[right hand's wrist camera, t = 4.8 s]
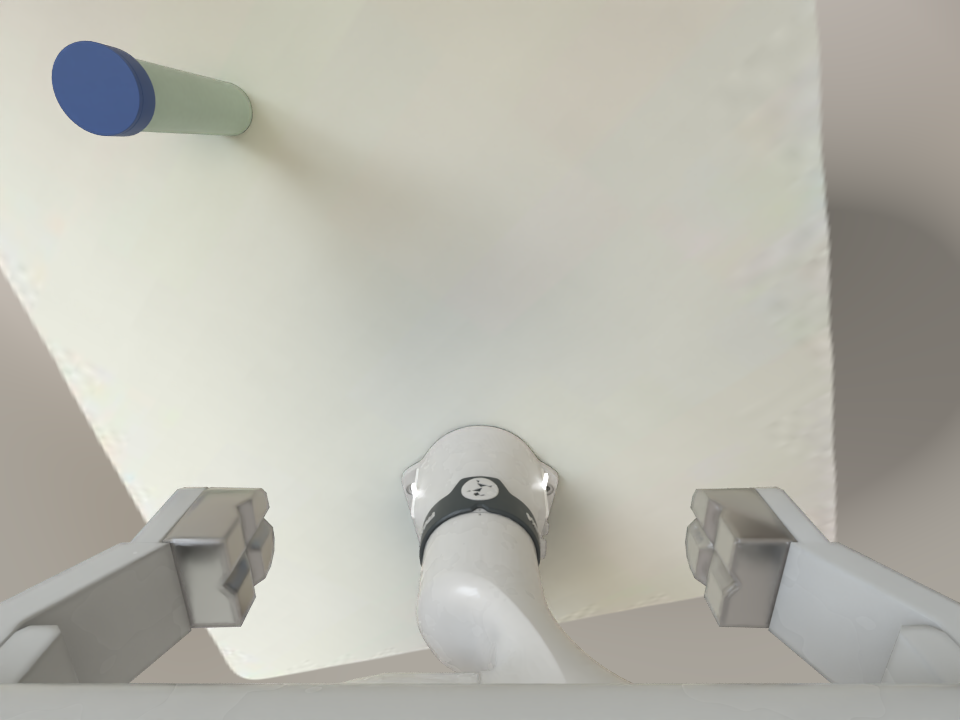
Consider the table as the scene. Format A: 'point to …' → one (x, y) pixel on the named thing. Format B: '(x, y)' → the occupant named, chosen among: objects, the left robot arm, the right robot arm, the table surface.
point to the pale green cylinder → (196, 103)
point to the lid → (103, 89)
